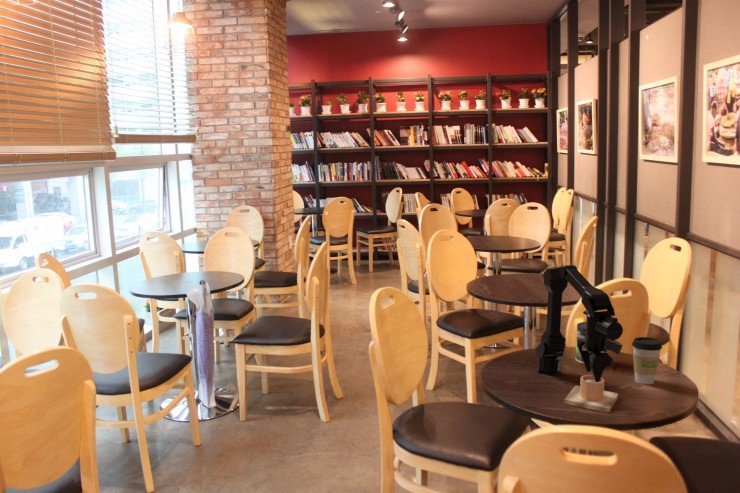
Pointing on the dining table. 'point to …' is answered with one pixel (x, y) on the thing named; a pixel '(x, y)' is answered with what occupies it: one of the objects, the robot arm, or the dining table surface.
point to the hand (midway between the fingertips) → (592, 376)
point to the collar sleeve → (591, 388)
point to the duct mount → (600, 405)
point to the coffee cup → (645, 359)
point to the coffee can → (580, 335)
